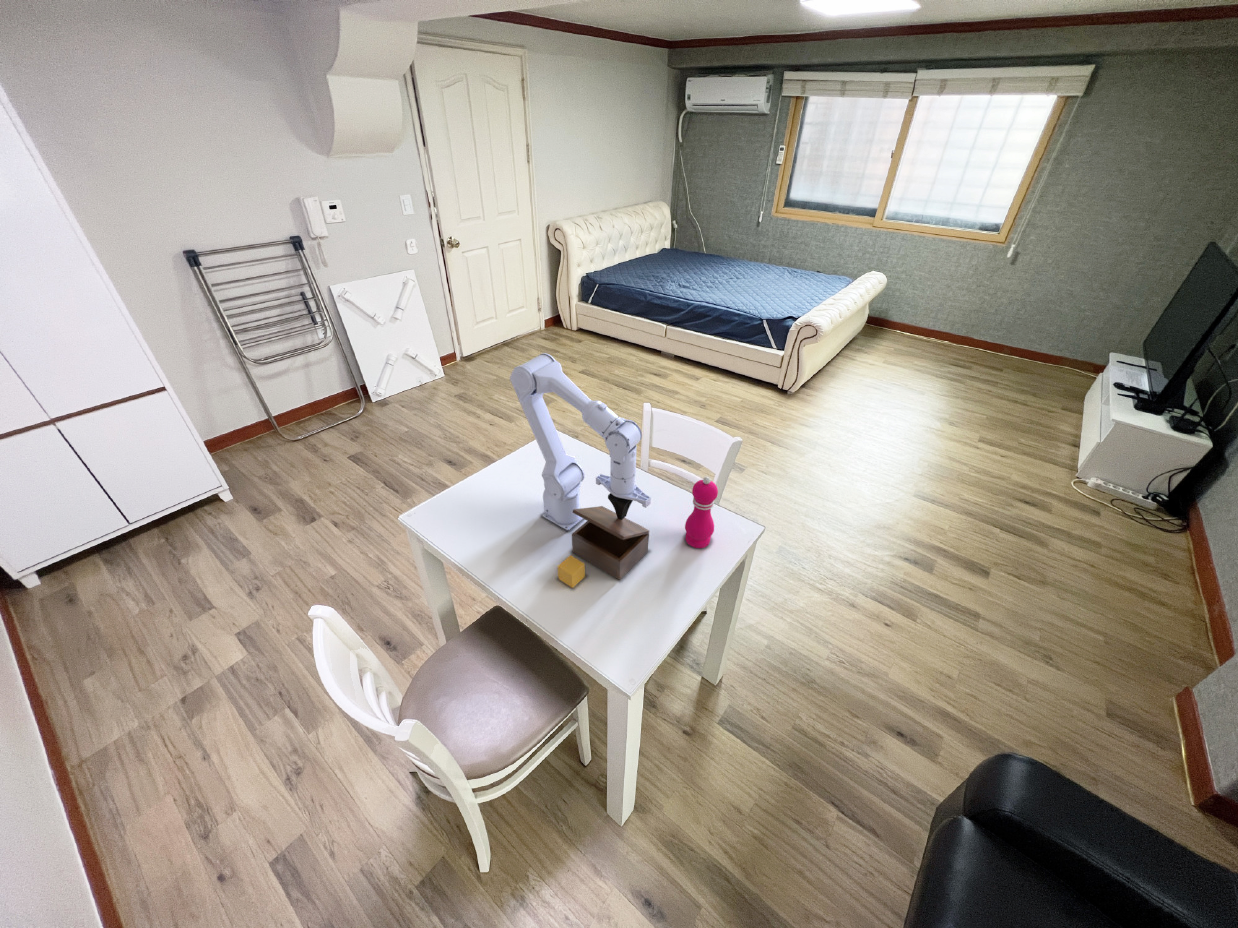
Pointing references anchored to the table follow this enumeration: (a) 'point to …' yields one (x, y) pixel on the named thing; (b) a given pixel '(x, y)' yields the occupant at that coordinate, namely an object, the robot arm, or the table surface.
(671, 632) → the table surface
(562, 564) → the mustard block
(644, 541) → the box
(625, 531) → the box lid
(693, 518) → the pepper mill
